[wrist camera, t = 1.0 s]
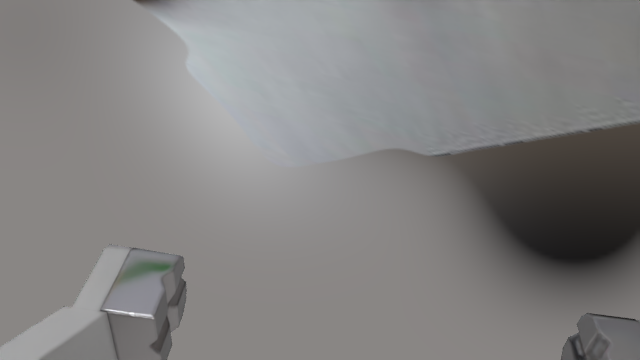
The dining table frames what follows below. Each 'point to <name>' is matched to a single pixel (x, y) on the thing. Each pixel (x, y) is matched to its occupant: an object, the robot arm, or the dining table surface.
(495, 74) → the dining table surface
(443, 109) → the dining table surface
